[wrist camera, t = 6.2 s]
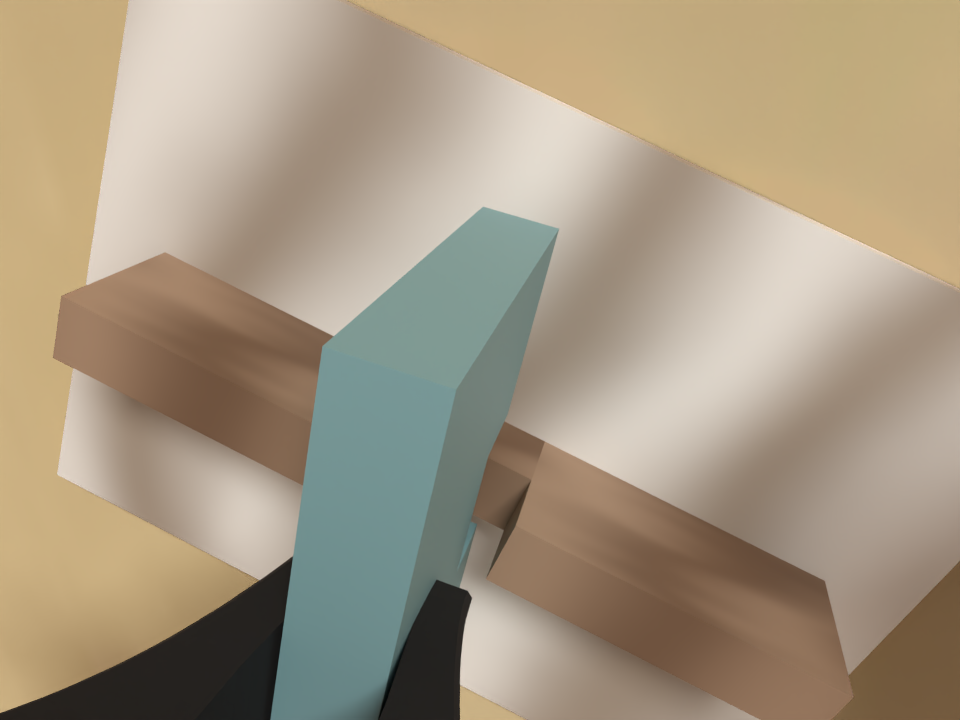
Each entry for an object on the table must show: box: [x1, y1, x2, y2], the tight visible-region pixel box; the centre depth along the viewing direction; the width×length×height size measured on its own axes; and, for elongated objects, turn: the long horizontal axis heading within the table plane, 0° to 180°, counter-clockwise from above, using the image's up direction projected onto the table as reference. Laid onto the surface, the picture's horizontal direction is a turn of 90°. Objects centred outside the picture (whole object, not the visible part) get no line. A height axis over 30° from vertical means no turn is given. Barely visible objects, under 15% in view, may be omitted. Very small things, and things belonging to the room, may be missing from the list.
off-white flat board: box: [53, 0, 960, 720], centre depth 17 cm, size 22×16×4 cm
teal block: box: [270, 207, 559, 720], centre depth 14 cm, size 2×12×8 cm, turn 167°
